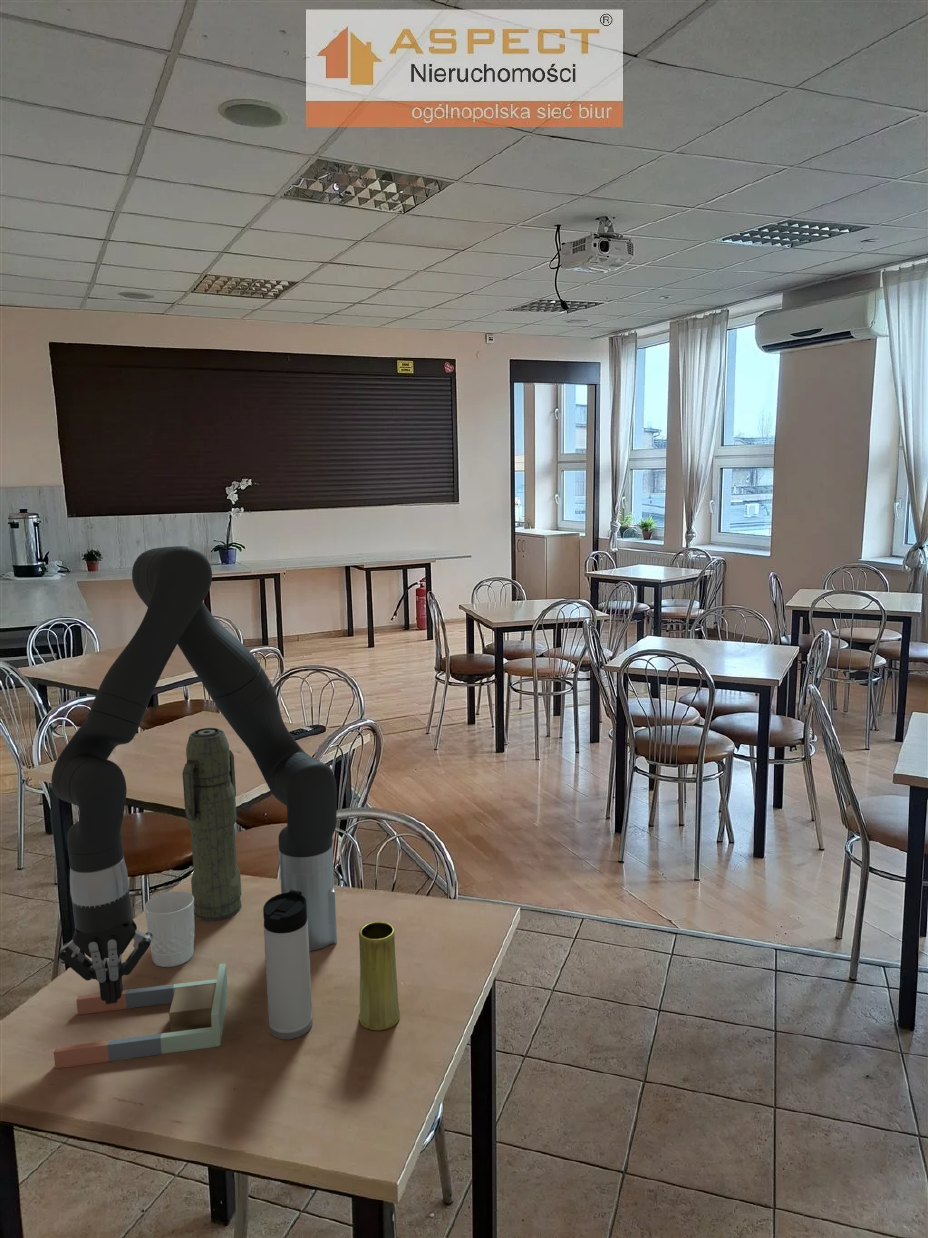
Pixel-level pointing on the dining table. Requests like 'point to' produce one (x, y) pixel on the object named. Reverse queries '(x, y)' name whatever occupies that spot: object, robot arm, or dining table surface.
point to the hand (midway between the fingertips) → (112, 1000)
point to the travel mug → (287, 965)
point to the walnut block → (192, 1008)
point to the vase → (378, 977)
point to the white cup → (171, 927)
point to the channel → (147, 1043)
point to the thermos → (212, 824)
